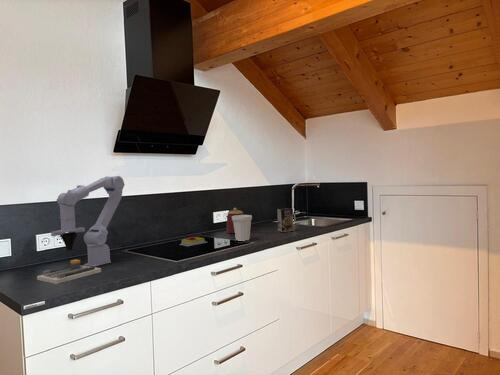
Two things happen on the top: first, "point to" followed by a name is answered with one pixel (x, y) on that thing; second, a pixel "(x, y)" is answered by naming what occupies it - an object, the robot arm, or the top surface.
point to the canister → (230, 222)
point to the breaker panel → (67, 274)
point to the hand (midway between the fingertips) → (69, 249)
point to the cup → (242, 227)
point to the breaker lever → (75, 264)
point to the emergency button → (192, 241)
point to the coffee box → (285, 219)
